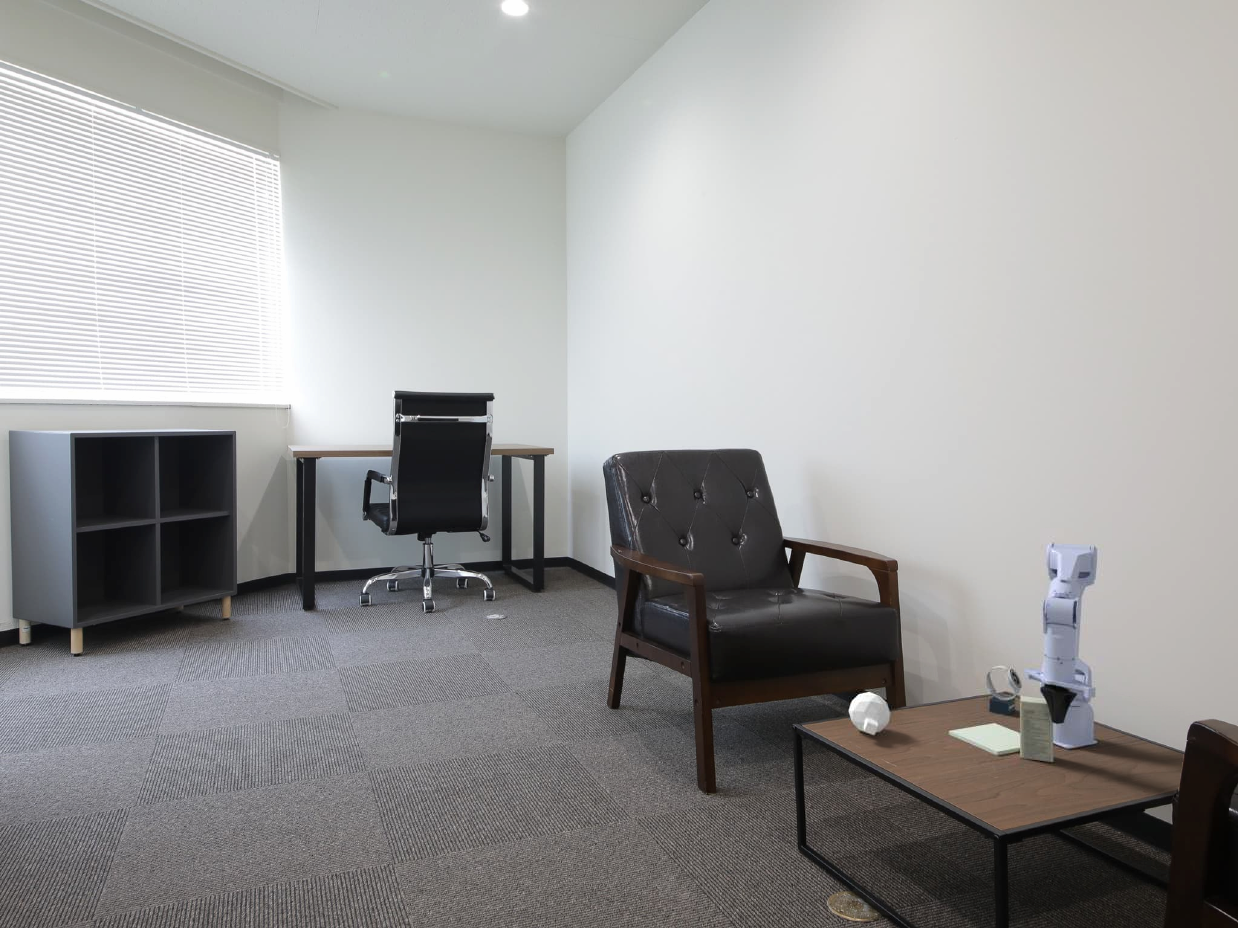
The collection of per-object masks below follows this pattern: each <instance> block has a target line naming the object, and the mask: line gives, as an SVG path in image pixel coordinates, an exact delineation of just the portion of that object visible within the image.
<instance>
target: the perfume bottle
mask: <svg viewBox="0 0 1238 928" xmlns="http://www.w3.org/2000/svg"><path fill="white" fill-rule="evenodd" d="M848 713H849V716H850V720H851V722H852V724H853V725H854V726H855V727H856V728H857V729H858V730H859V731H862V732H864V733H867V734H868V735H869V734H870V735H871V736H875V734H876V733H880V732H882V731H883V729H884V728H885V727H887V725H888V724H889V721H890V718H891V712H890V709H889V706H888V702H886V700H884V699H883V698H882V697H881V696H880V695H878V694H875V693H873V692H870V691H868V692H863V693H859V694H858V695H857V696H856V697H854V699H852V700H851V702H850V705H849V709H848Z"/></svg>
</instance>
